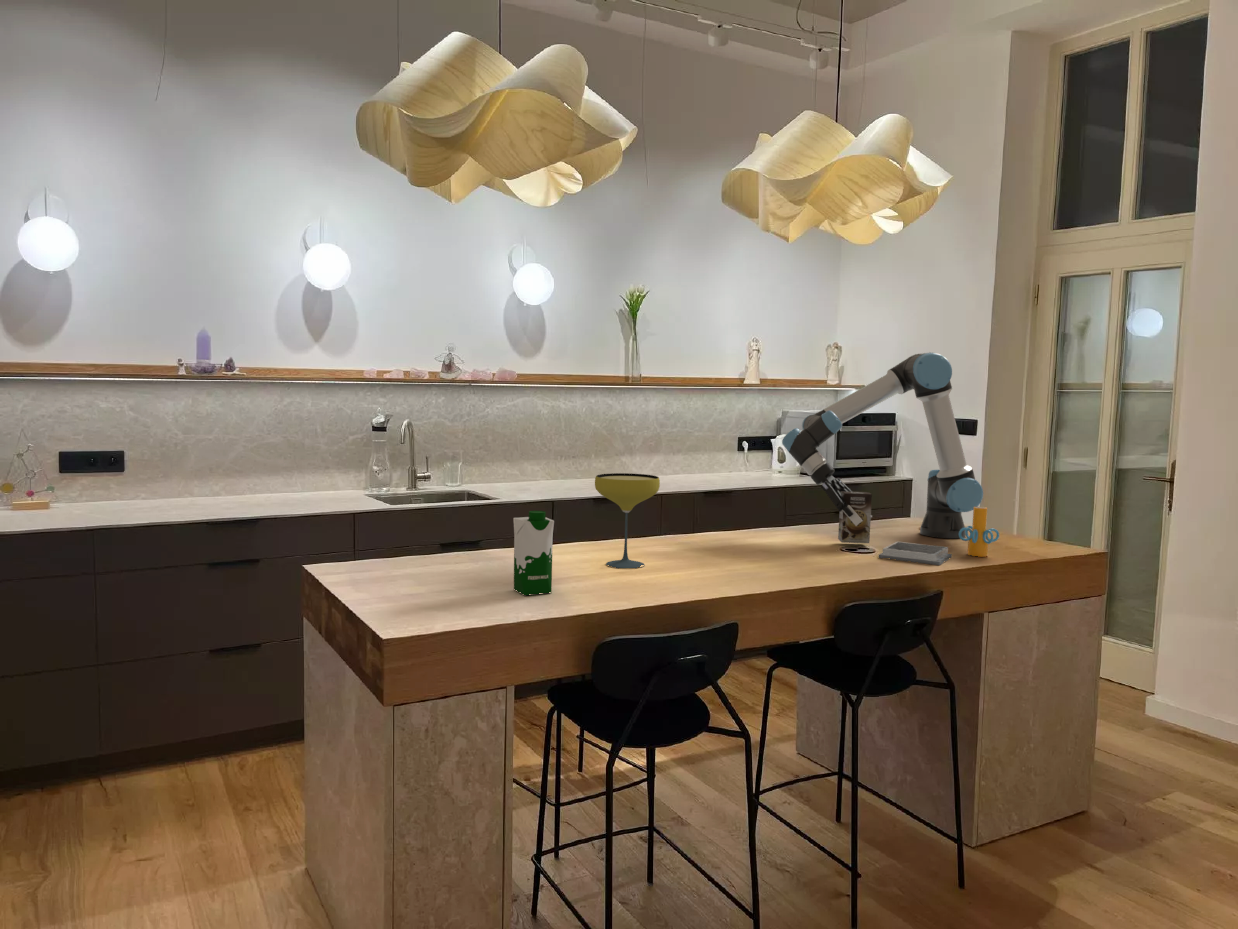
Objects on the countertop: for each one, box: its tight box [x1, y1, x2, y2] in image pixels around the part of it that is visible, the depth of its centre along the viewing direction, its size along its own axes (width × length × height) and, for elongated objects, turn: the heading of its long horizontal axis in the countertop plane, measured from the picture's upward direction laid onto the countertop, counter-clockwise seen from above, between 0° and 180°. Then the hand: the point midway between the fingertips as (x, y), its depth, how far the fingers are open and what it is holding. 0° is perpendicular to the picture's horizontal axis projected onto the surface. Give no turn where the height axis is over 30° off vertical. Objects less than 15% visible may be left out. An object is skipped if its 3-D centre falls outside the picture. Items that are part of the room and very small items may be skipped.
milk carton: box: [512, 510, 555, 596], centre depth 227 cm, size 9×9×20 cm
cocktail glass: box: [594, 472, 661, 569], centre depth 262 cm, size 18×18×25 cm
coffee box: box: [837, 491, 873, 544], centre depth 303 cm, size 9×6×16 cm
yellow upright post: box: [959, 506, 1000, 558], centre depth 290 cm, size 12×10×15 cm
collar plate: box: [877, 541, 952, 566], centre depth 284 cm, size 16×18×3 cm
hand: (864, 521), depth 302 cm, fingers closed on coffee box, 9 cm apart
